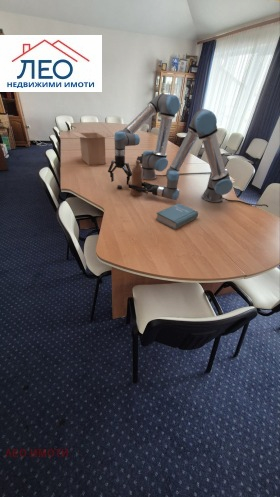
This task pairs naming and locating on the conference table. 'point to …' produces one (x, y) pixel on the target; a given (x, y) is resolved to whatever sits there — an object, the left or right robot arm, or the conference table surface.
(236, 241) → the conference table surface
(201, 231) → the conference table surface
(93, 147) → the box
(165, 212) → the book
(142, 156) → the laser sight
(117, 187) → the cap
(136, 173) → the bottle
